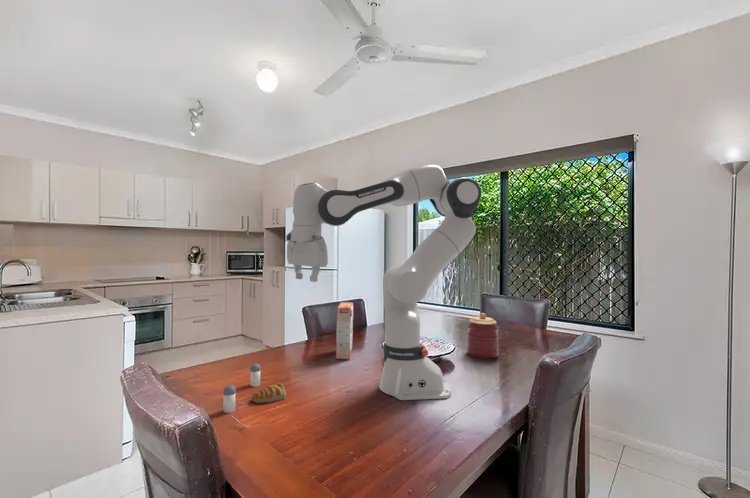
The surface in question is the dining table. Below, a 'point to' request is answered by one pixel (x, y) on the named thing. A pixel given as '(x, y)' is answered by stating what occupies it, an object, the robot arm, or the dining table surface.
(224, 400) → the posts
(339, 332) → the cracker box
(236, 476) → the dining table surface
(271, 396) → the pastry
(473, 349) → the canister
